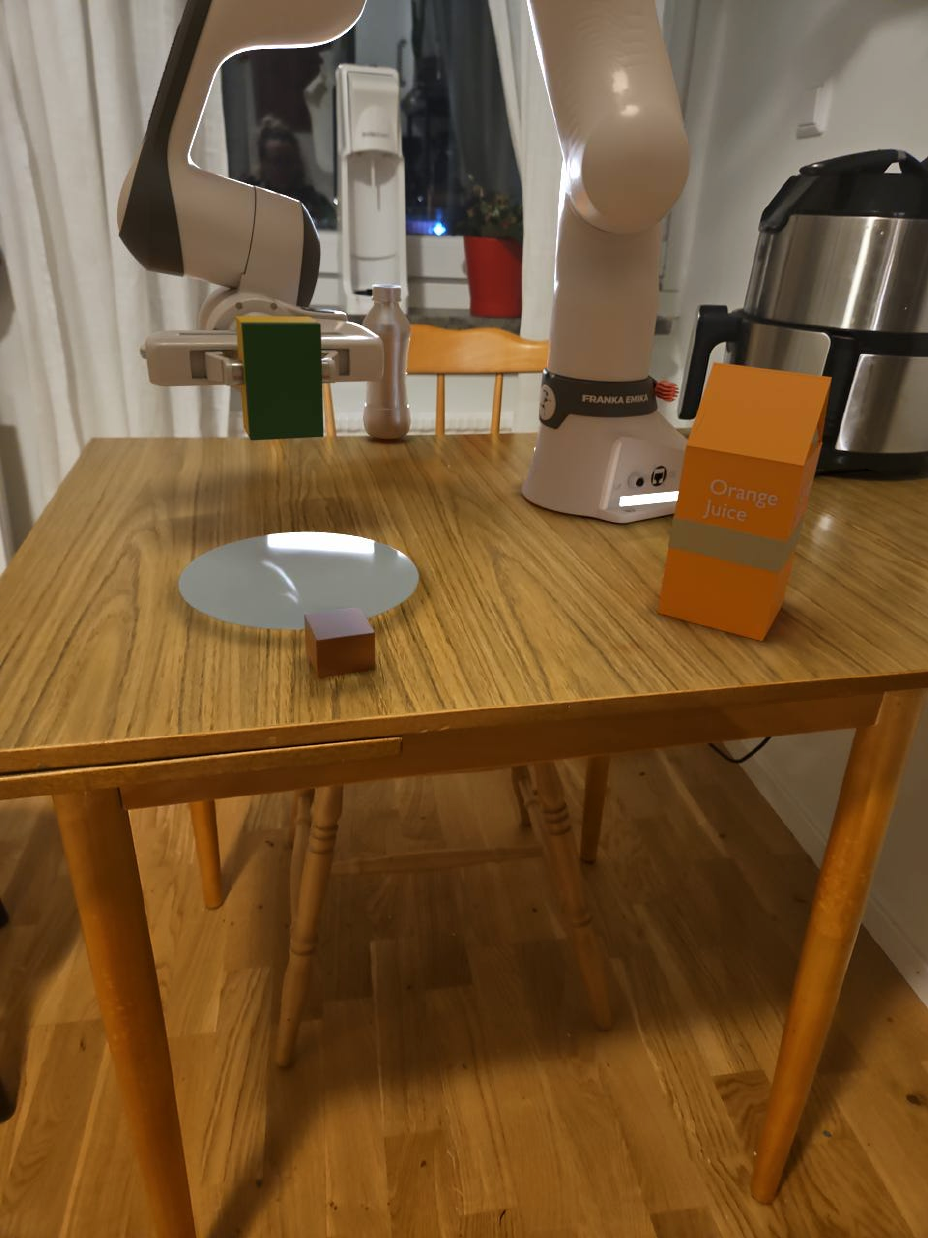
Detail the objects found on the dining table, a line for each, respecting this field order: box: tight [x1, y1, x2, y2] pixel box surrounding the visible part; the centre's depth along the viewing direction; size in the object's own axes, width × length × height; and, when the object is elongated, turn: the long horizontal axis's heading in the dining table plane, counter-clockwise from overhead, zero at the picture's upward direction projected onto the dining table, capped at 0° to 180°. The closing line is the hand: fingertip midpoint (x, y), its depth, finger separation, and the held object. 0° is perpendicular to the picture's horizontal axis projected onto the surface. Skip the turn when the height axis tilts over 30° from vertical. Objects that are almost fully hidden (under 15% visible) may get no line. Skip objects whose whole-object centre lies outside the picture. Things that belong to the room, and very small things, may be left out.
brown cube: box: [304, 608, 376, 679], centre depth 56 cm, size 4×4×4 cm
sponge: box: [236, 316, 325, 441], centre depth 66 cm, size 6×4×9 cm, turn 112°
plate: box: [177, 531, 420, 631], centre depth 69 cm, size 20×20×1 cm
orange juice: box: [656, 361, 833, 642], centre depth 65 cm, size 8×9×20 cm
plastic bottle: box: [361, 284, 412, 441], centre depth 110 cm, size 6×7×20 cm
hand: (282, 374), depth 65 cm, fingers closed on sponge, 6 cm apart
